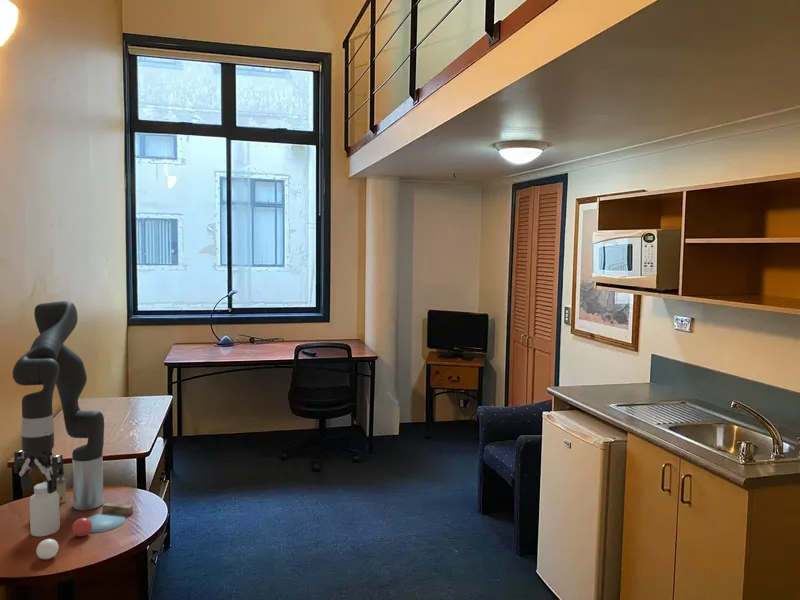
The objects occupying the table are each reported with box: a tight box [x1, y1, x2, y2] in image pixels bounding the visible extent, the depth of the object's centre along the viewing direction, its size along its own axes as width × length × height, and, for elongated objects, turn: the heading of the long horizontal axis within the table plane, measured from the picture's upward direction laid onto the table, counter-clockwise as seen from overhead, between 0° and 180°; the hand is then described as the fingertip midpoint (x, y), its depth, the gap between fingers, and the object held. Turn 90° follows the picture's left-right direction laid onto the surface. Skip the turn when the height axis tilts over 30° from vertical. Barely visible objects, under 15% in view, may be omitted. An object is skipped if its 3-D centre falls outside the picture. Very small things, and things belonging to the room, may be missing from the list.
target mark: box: [86, 512, 126, 534], centre depth 194 cm, size 14×14×1 cm
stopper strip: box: [102, 502, 134, 516], centre depth 202 cm, size 10×2×2 cm, turn 79°
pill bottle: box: [29, 482, 61, 537], centre depth 187 cm, size 8×8×15 cm
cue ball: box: [36, 538, 60, 560], centre depth 171 cm, size 6×6×6 cm
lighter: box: [42, 475, 67, 504], centre depth 208 cm, size 7×4×10 cm, turn 126°
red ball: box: [71, 517, 92, 538], centre depth 185 cm, size 6×6×6 cm
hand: (39, 490), depth 162 cm, fingers open, 8 cm apart
